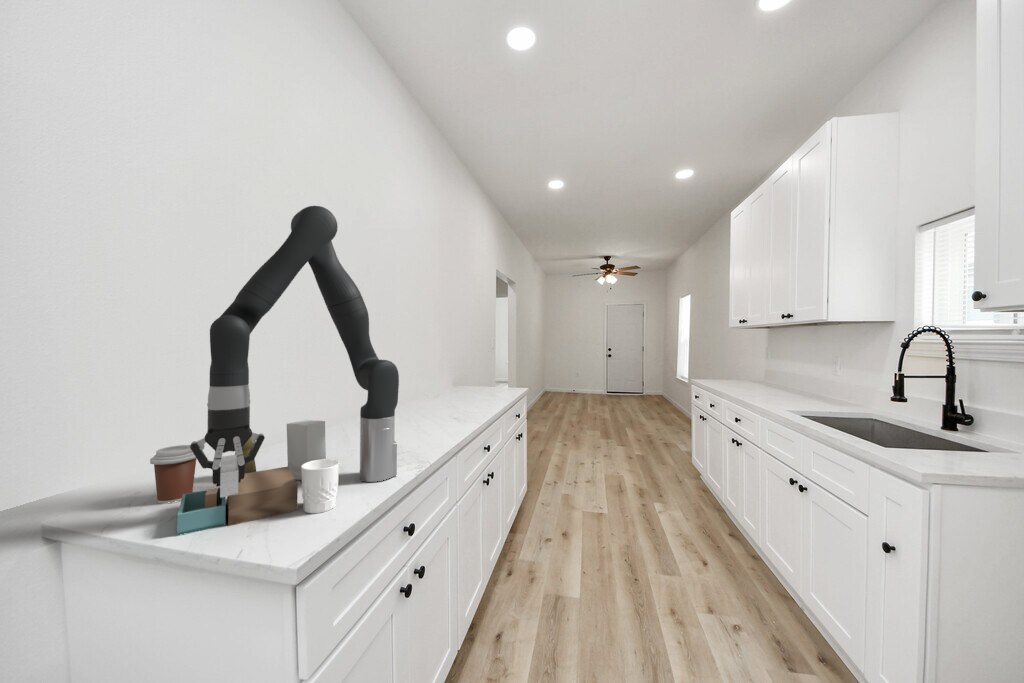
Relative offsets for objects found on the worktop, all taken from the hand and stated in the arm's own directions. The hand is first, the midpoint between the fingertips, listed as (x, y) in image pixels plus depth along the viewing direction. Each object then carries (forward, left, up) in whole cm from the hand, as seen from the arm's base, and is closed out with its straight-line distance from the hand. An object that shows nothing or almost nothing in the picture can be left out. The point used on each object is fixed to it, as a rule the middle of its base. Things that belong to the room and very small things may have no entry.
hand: (228, 483), depth 84 cm
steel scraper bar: (0, 0, -1) cm, 1 cm away
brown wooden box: (-6, 0, -7) cm, 9 cm away
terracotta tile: (+2, -3, -4) cm, 5 cm away
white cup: (-17, +9, -7) cm, 20 cm away
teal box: (+4, 0, -7) cm, 8 cm away
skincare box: (-18, -16, -7) cm, 25 cm away
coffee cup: (+10, -18, -7) cm, 21 cm away
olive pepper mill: (-4, -26, -7) cm, 27 cm away
